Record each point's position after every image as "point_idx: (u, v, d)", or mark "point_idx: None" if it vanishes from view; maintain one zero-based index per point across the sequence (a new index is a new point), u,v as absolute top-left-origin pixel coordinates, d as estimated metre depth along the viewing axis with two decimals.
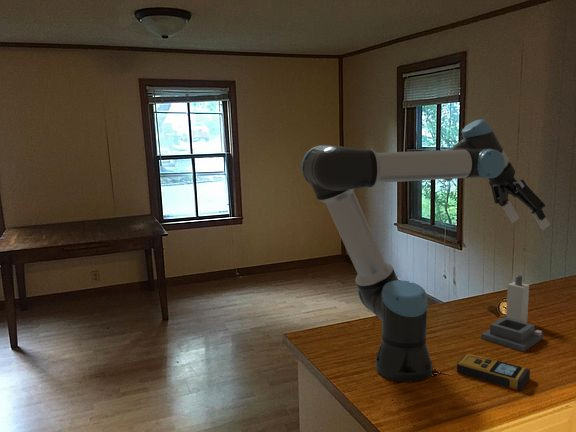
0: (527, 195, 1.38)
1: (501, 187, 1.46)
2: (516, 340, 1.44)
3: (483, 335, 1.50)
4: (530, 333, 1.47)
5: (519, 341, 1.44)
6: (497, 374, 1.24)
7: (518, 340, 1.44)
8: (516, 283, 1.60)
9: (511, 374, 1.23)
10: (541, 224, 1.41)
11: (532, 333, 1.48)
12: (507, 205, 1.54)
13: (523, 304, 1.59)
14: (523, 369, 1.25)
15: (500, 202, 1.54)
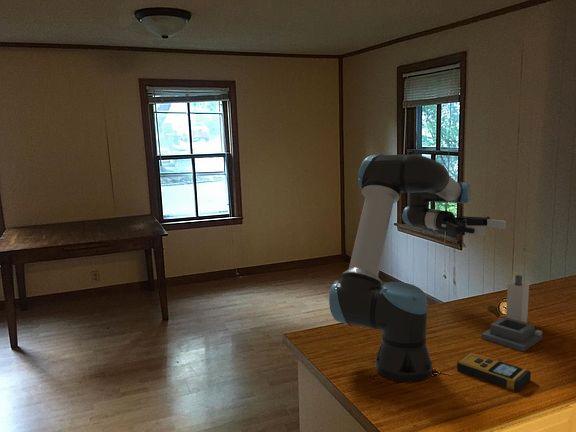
0: None
1: None
2: (516, 340, 1.44)
3: (483, 335, 1.50)
4: (530, 333, 1.47)
5: (519, 341, 1.44)
6: (495, 374, 1.24)
7: (518, 340, 1.44)
8: (516, 283, 1.60)
9: (509, 375, 1.23)
10: None
11: (532, 333, 1.48)
12: None
13: (523, 304, 1.59)
14: (523, 370, 1.24)
15: (462, 225, 1.65)
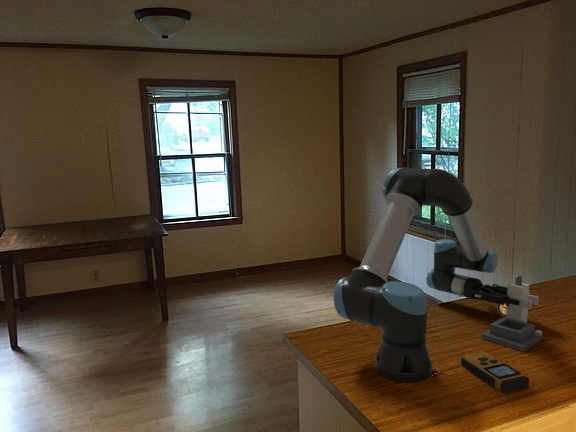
0: None
1: None
2: (516, 340, 1.44)
3: (483, 335, 1.50)
4: (530, 333, 1.47)
5: (519, 341, 1.44)
6: (488, 372, 1.25)
7: (518, 340, 1.44)
8: (516, 283, 1.60)
9: (501, 376, 1.22)
10: None
11: (532, 333, 1.48)
12: None
13: None
14: (520, 375, 1.22)
15: (504, 295, 1.61)
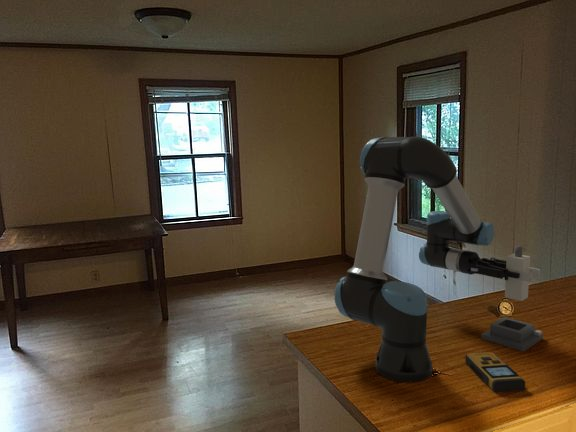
0: None
1: None
2: (516, 340, 1.44)
3: (483, 335, 1.50)
4: (530, 333, 1.47)
5: (519, 341, 1.44)
6: (484, 371, 1.25)
7: (518, 340, 1.44)
8: (516, 254, 1.46)
9: (495, 375, 1.22)
10: None
11: (532, 333, 1.48)
12: None
13: None
14: (516, 377, 1.21)
15: (502, 268, 1.48)
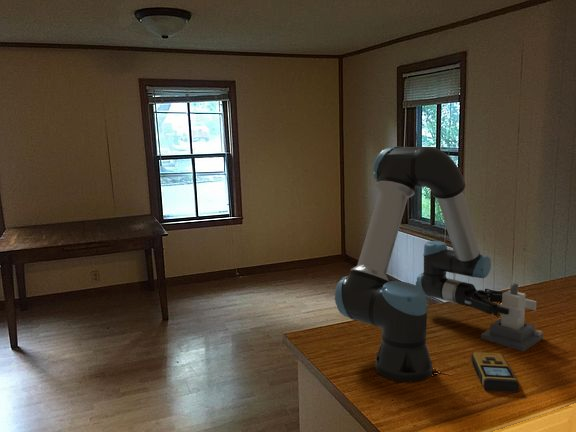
0: None
1: None
2: (516, 340, 1.44)
3: (483, 335, 1.50)
4: (530, 333, 1.47)
5: (519, 341, 1.44)
6: (481, 369, 1.26)
7: (518, 340, 1.44)
8: (511, 292, 1.47)
9: (490, 374, 1.23)
10: None
11: (532, 333, 1.48)
12: None
13: None
14: (510, 378, 1.21)
15: (493, 303, 1.47)
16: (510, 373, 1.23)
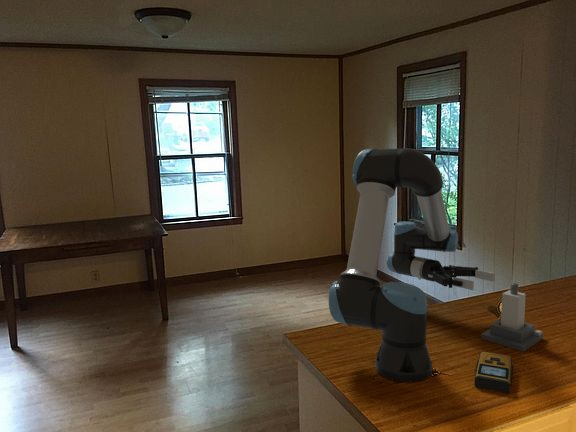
0: None
1: None
2: (516, 340, 1.44)
3: (483, 335, 1.50)
4: (530, 333, 1.47)
5: (519, 341, 1.44)
6: (478, 367, 1.27)
7: (518, 340, 1.44)
8: (511, 292, 1.47)
9: (484, 373, 1.24)
10: None
11: (532, 333, 1.48)
12: None
13: (519, 314, 1.46)
14: (502, 379, 1.20)
15: (449, 276, 1.57)
16: (506, 374, 1.23)
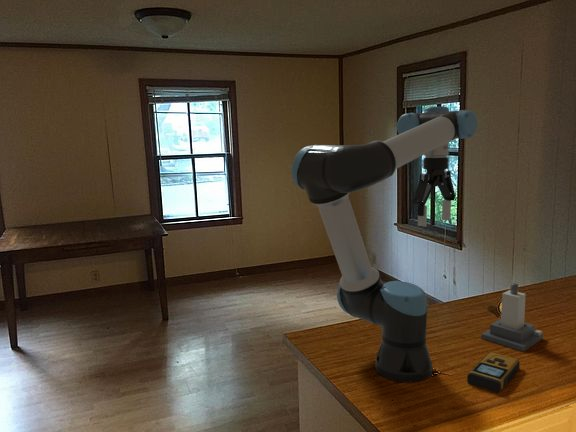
0: (418, 187, 1.50)
1: None
2: (516, 340, 1.44)
3: (483, 335, 1.50)
4: (530, 333, 1.47)
5: (519, 341, 1.44)
6: (477, 365, 1.28)
7: (518, 340, 1.44)
8: (511, 292, 1.47)
9: (479, 370, 1.25)
10: (418, 220, 1.52)
11: (532, 333, 1.48)
12: (446, 202, 1.59)
13: (519, 314, 1.46)
14: (494, 378, 1.21)
15: None
16: (501, 375, 1.23)
